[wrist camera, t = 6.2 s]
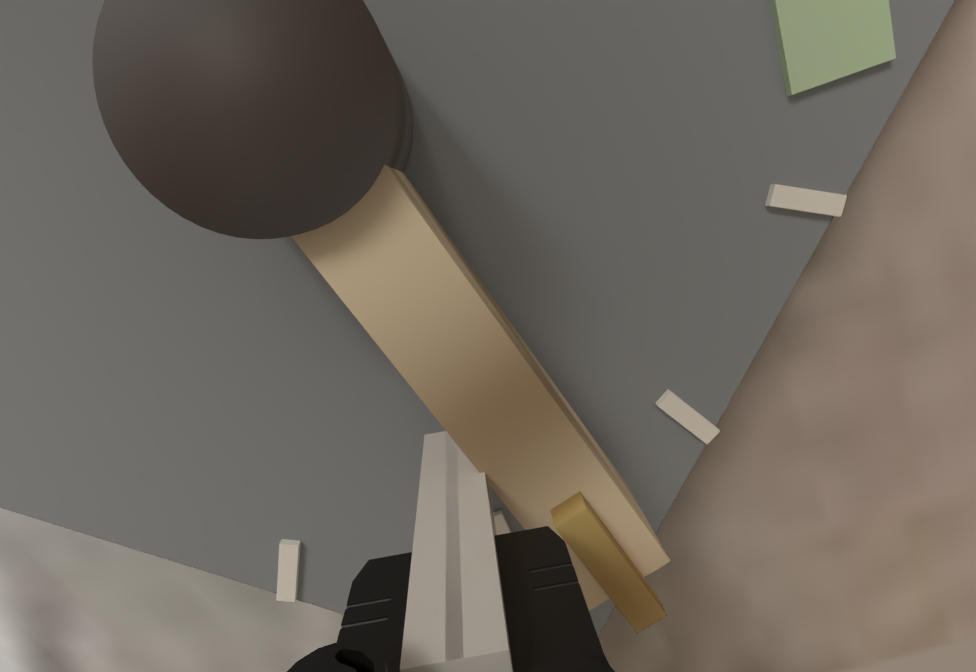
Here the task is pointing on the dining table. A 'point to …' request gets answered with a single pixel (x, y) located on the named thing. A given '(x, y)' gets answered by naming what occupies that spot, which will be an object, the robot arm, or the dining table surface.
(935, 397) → the dining table surface
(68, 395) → the dial board
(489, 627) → the robot arm
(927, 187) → the dining table surface
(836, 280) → the dining table surface
